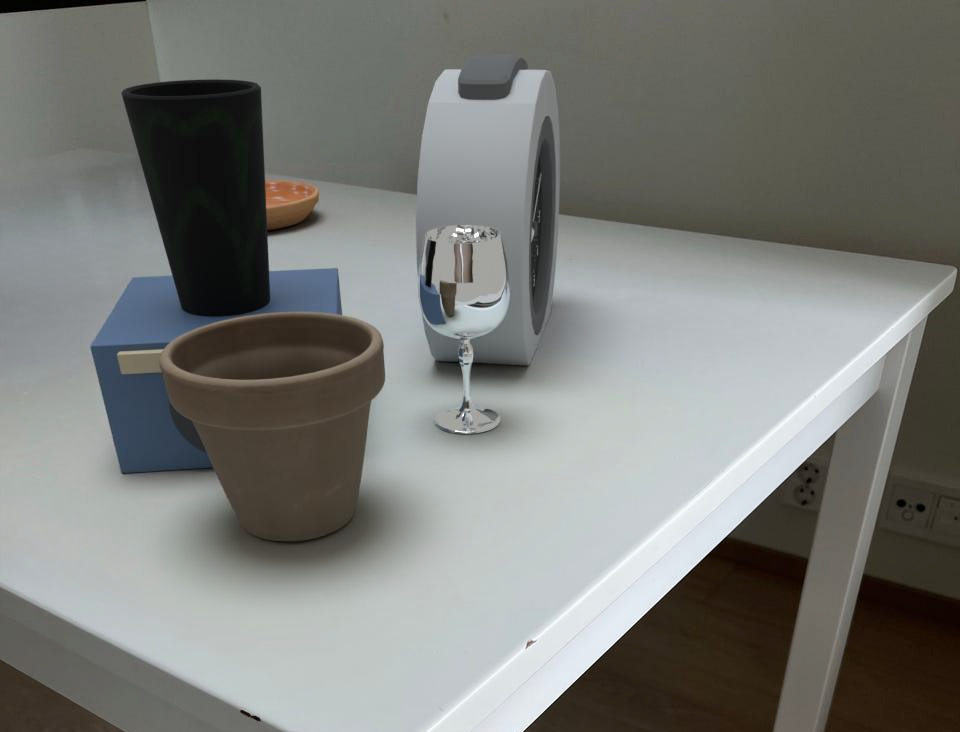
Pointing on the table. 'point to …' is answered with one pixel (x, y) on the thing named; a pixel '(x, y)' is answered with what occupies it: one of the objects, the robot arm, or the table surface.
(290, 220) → the saucer
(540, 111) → the alarm clock
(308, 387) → the flower pot
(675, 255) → the table surface
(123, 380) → the blue tabbed box
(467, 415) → the wineglass
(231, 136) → the cup
